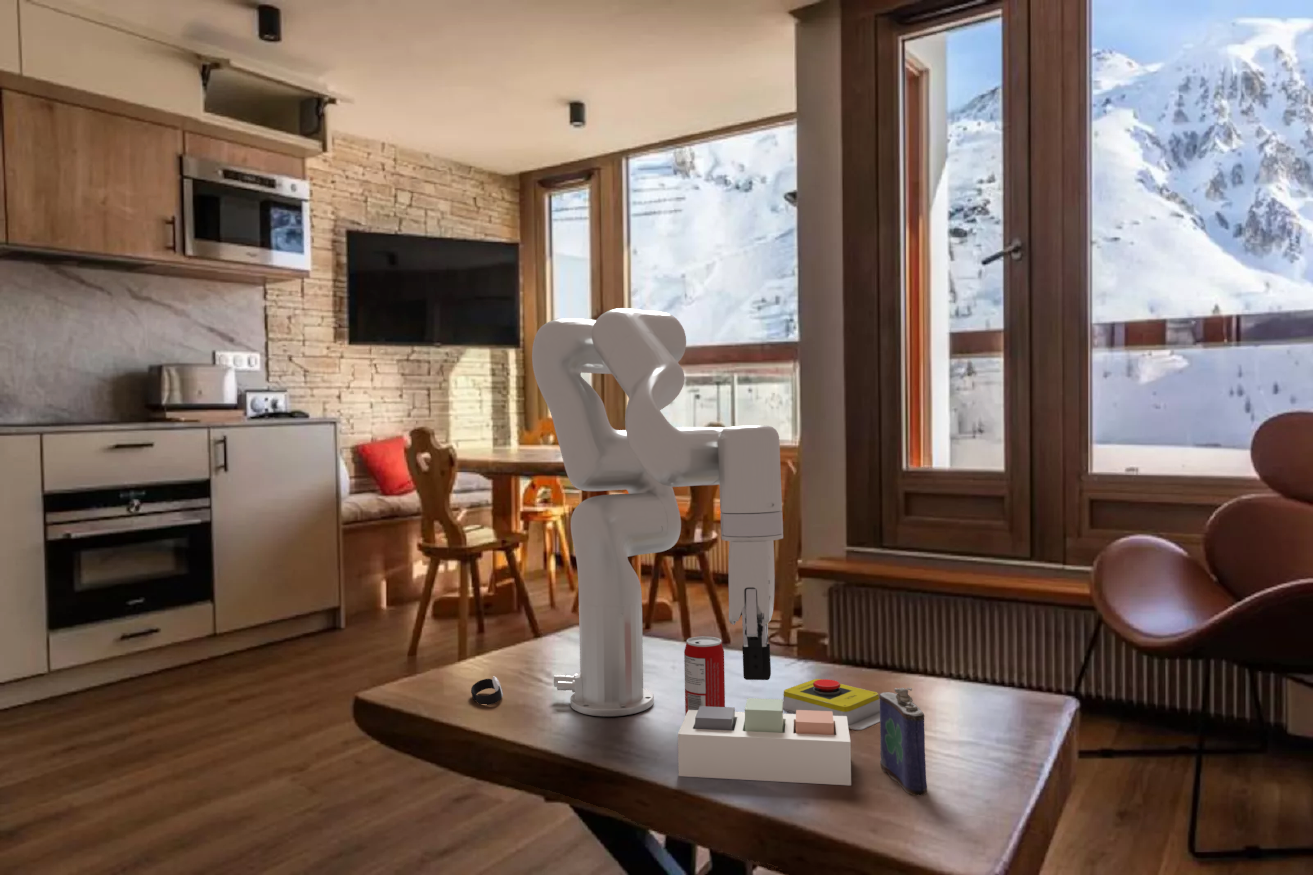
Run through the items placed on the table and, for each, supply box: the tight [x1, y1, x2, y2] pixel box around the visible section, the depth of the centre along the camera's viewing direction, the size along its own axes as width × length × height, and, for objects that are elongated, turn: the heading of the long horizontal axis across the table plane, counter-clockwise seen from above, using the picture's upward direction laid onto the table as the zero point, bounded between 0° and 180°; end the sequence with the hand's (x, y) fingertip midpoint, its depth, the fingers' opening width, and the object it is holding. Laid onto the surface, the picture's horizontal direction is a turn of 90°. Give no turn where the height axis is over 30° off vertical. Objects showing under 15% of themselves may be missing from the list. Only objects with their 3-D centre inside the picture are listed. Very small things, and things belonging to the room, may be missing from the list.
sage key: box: [744, 697, 784, 733], centre depth 103 cm, size 4×4×4 cm
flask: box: [878, 687, 928, 797], centre depth 99 cm, size 9×3×11 cm, turn 8°
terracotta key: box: [795, 710, 834, 735], centre depth 102 cm, size 4×4×4 cm
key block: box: [677, 710, 852, 786], centre depth 103 cm, size 20×9×5 cm, turn 80°
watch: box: [470, 675, 504, 706], centre depth 132 cm, size 8×5×4 cm, turn 26°
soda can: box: [683, 636, 726, 716], centre depth 119 cm, size 6×6×12 cm
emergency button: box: [782, 678, 880, 731], centre depth 124 cm, size 9×4×15 cm
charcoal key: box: [695, 706, 736, 731], centre depth 104 cm, size 4×4×4 cm
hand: (757, 677), depth 103 cm, fingers closed
